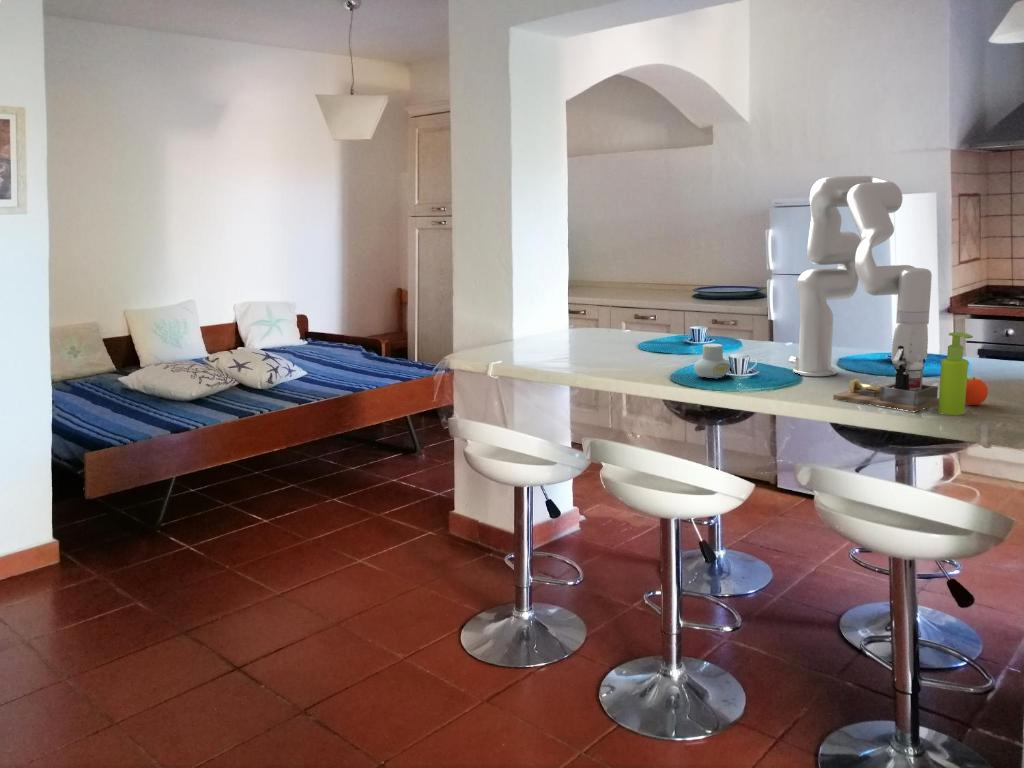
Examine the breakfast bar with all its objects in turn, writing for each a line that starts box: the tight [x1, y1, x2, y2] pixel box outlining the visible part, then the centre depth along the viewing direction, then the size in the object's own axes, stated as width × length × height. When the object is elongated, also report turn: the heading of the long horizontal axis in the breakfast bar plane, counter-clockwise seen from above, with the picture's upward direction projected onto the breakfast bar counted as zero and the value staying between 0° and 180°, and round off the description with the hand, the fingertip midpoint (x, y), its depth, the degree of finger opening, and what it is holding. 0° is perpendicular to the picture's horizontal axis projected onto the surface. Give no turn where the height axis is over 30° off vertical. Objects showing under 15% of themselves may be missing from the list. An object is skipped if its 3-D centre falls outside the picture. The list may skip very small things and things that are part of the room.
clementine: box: [965, 377, 989, 406], centre depth 229 cm, size 8×7×7 cm
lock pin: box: [849, 378, 883, 394], centre depth 240 cm, size 9×3×3 cm, turn 39°
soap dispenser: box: [937, 332, 974, 416], centre depth 220 cm, size 6×7×20 cm
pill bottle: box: [901, 355, 924, 392], centre depth 231 cm, size 6×6×11 cm
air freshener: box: [693, 343, 731, 378], centre depth 273 cm, size 11×8×10 cm
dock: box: [832, 382, 939, 411], centre depth 236 cm, size 22×14×5 cm, turn 39°
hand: (908, 386), depth 231 cm, fingers closed on pill bottle, 6 cm apart
